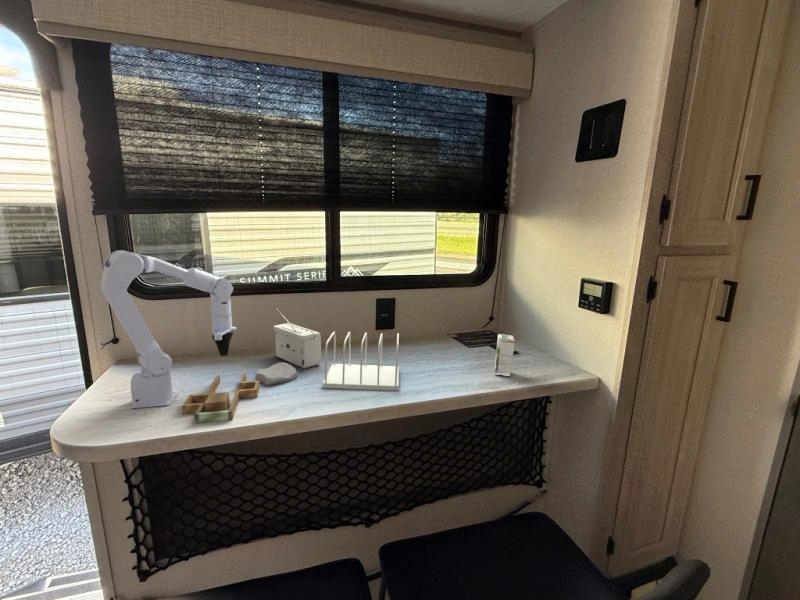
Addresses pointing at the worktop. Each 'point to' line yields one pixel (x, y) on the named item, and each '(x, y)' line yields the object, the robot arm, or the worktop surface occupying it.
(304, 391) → the worktop surface
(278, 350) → the stereo radio cassette player
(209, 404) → the walnut block
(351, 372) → the file sorter
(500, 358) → the syrup box
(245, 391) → the trap lane
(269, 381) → the stone block
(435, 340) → the worktop surface
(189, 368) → the worktop surface
